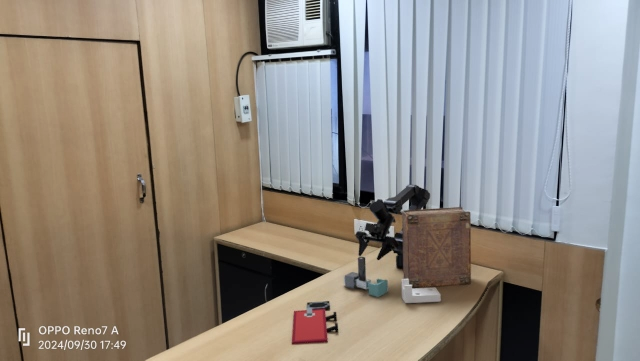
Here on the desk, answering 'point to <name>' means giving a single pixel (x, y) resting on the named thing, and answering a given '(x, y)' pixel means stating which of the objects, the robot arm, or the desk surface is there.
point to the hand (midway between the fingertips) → (368, 257)
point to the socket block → (378, 288)
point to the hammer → (361, 275)
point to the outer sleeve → (351, 280)
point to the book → (436, 247)
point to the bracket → (419, 293)
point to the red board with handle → (312, 323)
